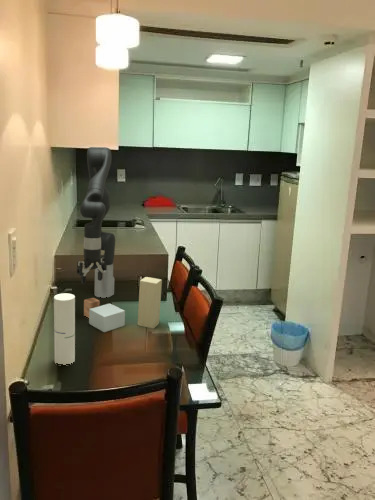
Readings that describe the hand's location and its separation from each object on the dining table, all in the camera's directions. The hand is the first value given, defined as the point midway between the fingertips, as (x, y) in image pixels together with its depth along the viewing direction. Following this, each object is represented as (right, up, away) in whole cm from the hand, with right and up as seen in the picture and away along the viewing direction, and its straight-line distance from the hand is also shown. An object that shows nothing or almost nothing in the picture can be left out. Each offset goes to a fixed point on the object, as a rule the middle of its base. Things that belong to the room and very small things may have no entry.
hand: (91, 281), depth 199 cm
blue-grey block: (+7, -19, -3) cm, 20 cm away
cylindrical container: (-2, -27, -36) cm, 45 cm away
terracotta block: (-1, -16, +4) cm, 17 cm away
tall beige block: (+26, -19, 0) cm, 32 cm away
